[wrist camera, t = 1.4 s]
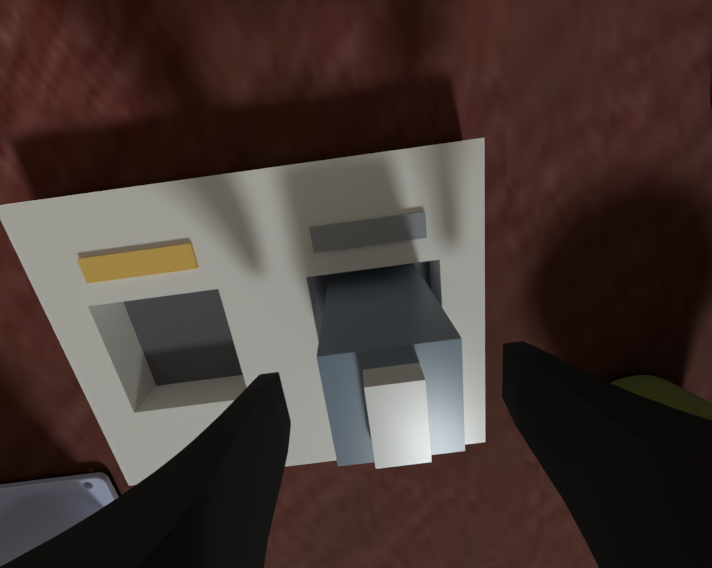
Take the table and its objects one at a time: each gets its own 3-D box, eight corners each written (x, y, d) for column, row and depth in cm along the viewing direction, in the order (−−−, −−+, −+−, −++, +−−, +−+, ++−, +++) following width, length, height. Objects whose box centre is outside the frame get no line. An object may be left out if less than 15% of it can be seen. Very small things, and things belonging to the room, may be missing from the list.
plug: (340, 350, 18) (337, 488, 10) (328, 275, 16) (314, 373, 9) (420, 339, 17) (473, 472, 10) (414, 264, 16) (471, 353, 9)
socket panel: (153, 448, 20) (126, 489, 17) (46, 198, 15) (-12, 206, 13) (469, 409, 19) (486, 445, 17) (463, 140, 15) (486, 137, 12)
